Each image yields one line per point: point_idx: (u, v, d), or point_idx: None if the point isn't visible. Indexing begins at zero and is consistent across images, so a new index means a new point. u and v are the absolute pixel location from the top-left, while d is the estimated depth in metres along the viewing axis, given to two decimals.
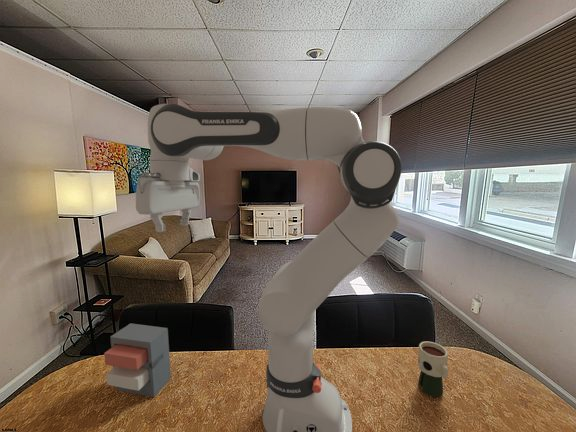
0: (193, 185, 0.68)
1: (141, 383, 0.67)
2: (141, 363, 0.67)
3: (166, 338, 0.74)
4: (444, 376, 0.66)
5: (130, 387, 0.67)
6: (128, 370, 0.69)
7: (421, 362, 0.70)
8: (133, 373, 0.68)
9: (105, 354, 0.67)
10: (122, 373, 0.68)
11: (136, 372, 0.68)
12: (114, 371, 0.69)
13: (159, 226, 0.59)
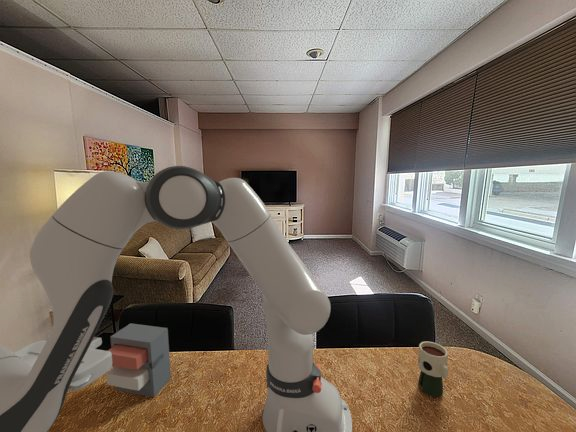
0: (18, 356, 0.50)
1: (141, 383, 0.67)
2: (141, 363, 0.67)
3: (166, 338, 0.74)
4: (444, 376, 0.66)
5: (130, 387, 0.67)
6: (128, 370, 0.69)
7: (421, 362, 0.70)
8: (133, 373, 0.68)
9: None
10: (122, 373, 0.68)
11: (136, 372, 0.68)
12: (114, 371, 0.69)
13: (96, 342, 0.58)
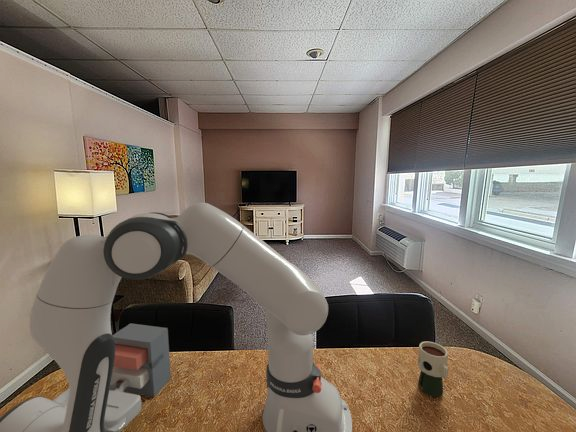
0: (61, 403, 0.58)
1: (143, 381, 0.68)
2: (141, 363, 0.67)
3: (166, 338, 0.74)
4: (444, 376, 0.66)
5: (132, 385, 0.67)
6: None
7: (421, 362, 0.70)
8: (135, 371, 0.68)
9: None
10: (124, 371, 0.68)
11: (138, 370, 0.69)
12: (116, 369, 0.69)
13: (124, 384, 0.66)
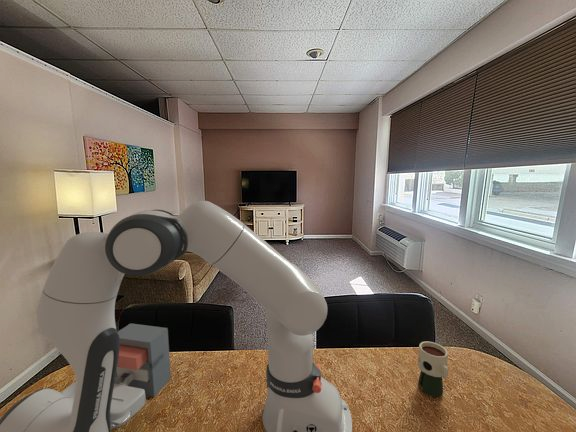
0: (68, 395, 0.60)
1: None
2: (141, 363, 0.67)
3: (166, 338, 0.74)
4: (444, 376, 0.66)
5: (139, 378, 0.70)
6: None
7: (421, 362, 0.70)
8: None
9: None
10: None
11: None
12: None
13: (129, 378, 0.68)
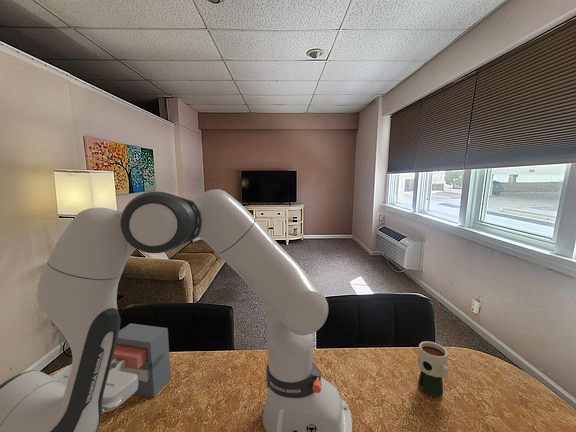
0: None
1: None
2: (142, 362, 0.67)
3: (166, 338, 0.74)
4: (444, 376, 0.66)
5: (139, 378, 0.70)
6: None
7: (421, 362, 0.70)
8: None
9: None
10: None
11: None
12: None
13: (121, 364, 0.65)
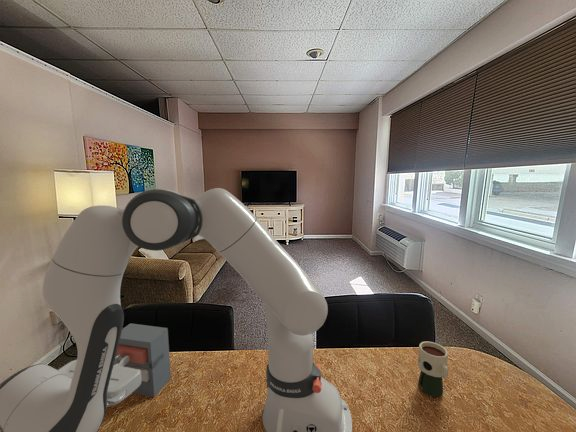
0: None
1: None
2: (147, 357, 0.69)
3: (166, 338, 0.74)
4: (444, 376, 0.66)
5: None
6: None
7: (421, 362, 0.70)
8: None
9: None
10: None
11: None
12: None
13: (125, 360, 0.66)
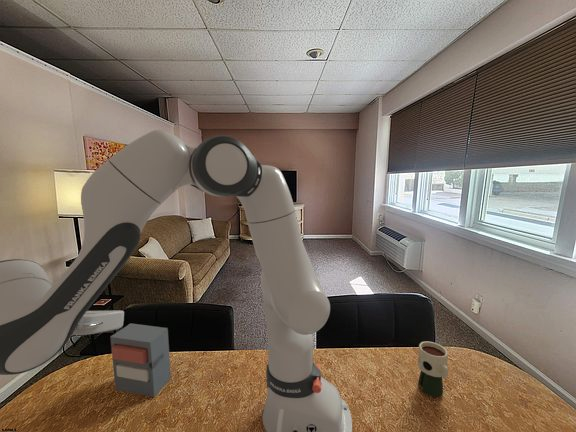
0: None
1: None
2: (147, 357, 0.69)
3: (166, 338, 0.74)
4: (444, 376, 0.66)
5: (139, 378, 0.70)
6: None
7: (421, 362, 0.70)
8: None
9: (112, 349, 0.69)
10: None
11: None
12: None
13: None
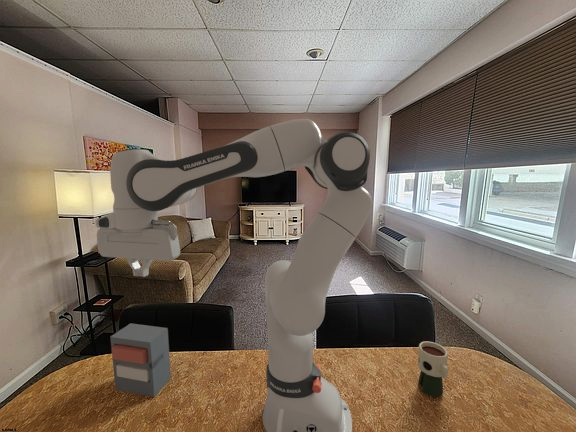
0: None
1: None
2: (147, 357, 0.69)
3: (166, 338, 0.74)
4: (444, 376, 0.66)
5: (139, 378, 0.70)
6: None
7: (421, 362, 0.70)
8: None
9: (112, 349, 0.69)
10: None
11: None
12: None
13: (146, 270, 0.61)
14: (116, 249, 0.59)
